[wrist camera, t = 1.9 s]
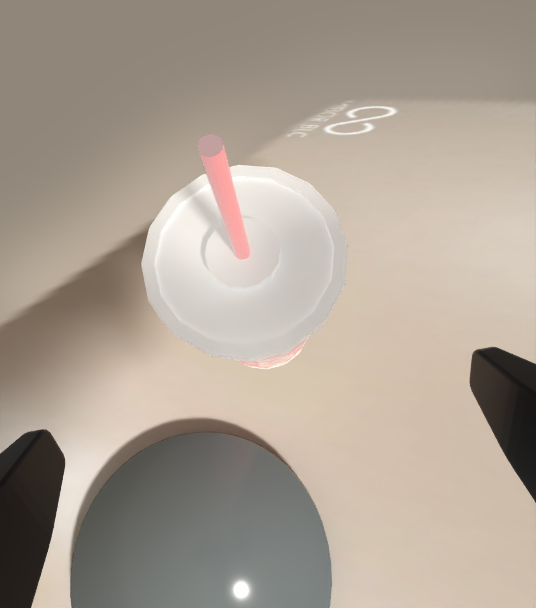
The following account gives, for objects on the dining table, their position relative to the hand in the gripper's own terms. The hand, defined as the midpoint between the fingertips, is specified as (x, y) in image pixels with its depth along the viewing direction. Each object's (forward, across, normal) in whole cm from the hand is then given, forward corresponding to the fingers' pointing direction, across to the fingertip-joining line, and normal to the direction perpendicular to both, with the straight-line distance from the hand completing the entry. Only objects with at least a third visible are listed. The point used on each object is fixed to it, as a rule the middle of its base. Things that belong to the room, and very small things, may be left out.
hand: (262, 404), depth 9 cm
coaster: (+4, +4, +12) cm, 13 cm away
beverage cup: (+11, 0, +5) cm, 12 cm away
